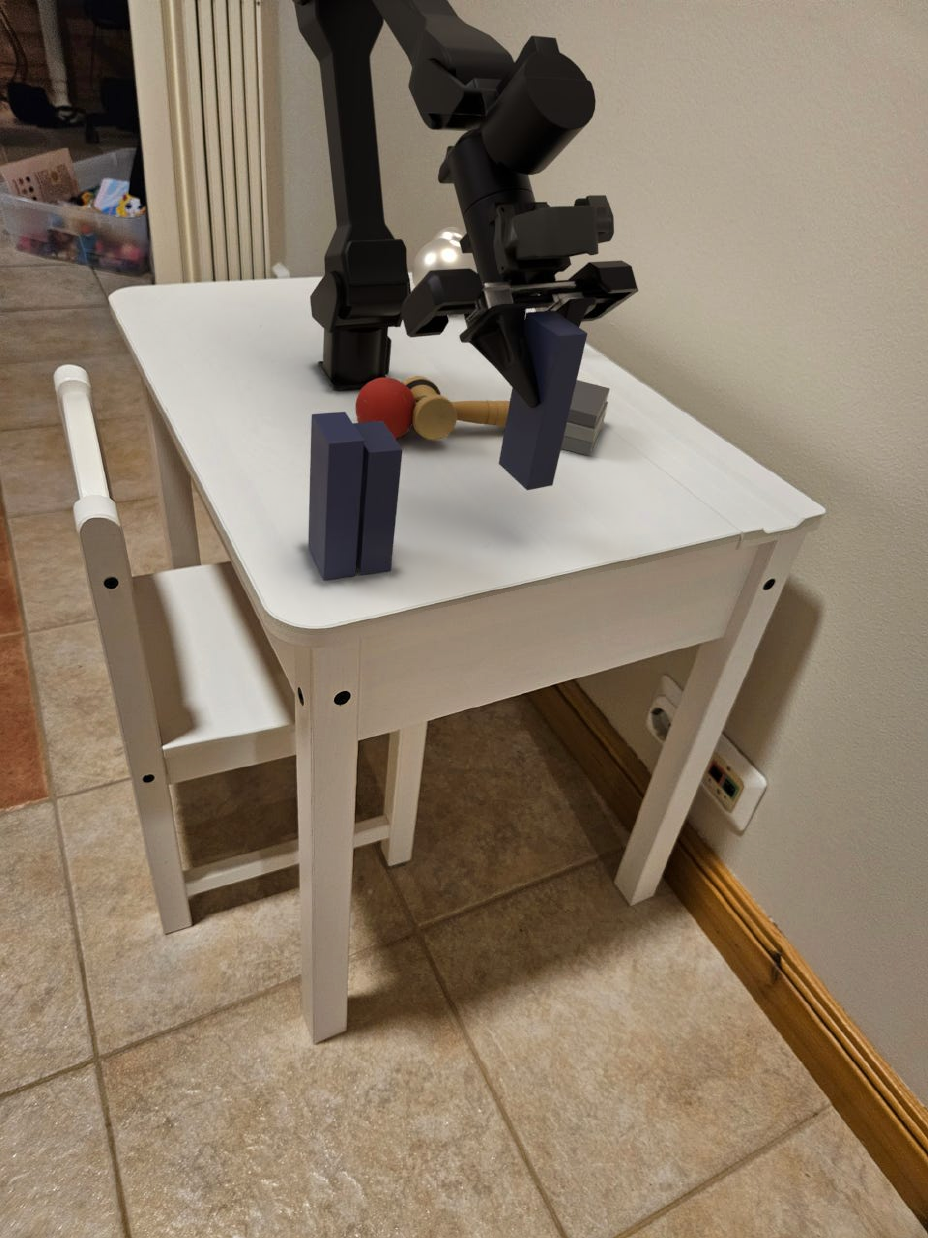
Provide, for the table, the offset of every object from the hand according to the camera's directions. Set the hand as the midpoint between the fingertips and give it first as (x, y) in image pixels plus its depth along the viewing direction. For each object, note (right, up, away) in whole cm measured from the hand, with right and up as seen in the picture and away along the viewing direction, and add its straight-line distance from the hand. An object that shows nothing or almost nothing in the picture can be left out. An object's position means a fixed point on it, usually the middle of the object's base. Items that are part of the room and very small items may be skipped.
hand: (550, 403), depth 68 cm
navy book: (-2, -5, +5) cm, 7 cm away
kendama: (-9, +2, +23) cm, 24 cm away
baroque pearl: (-10, +25, +51) cm, 58 cm away
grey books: (+4, +4, +26) cm, 27 cm away
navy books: (-16, -12, +3) cm, 20 cm away
